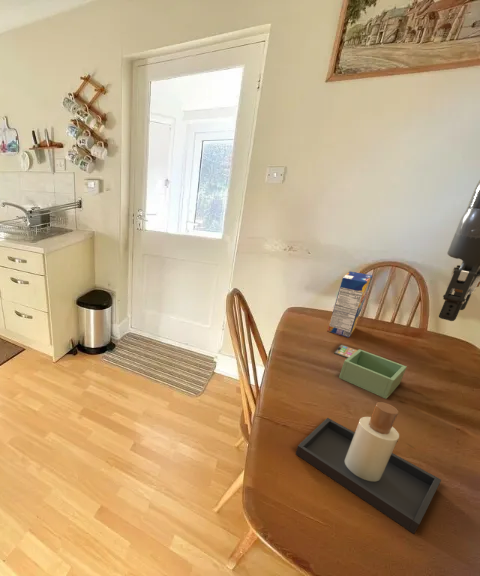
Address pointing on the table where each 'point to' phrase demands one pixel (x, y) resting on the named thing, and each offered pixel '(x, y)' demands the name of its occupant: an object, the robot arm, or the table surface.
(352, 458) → the bottle
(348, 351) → the smartphone
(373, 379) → the bin
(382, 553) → the table surface
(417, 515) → the tray
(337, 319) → the beverage box
